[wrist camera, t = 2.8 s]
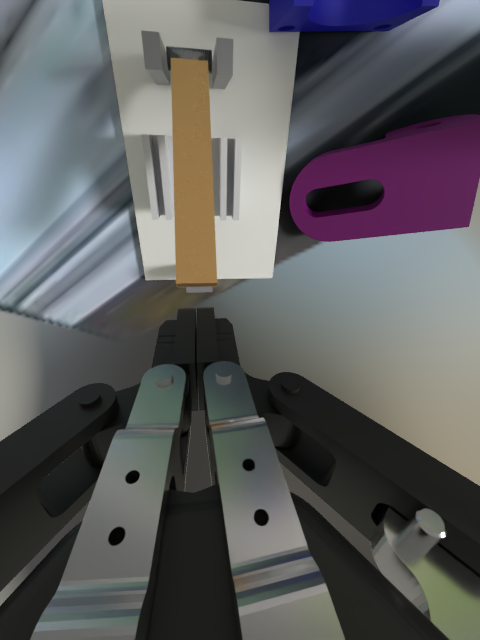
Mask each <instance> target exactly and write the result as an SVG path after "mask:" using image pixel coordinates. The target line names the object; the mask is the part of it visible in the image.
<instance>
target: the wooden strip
mask: <svg viewBox="0 0 480 640" xmlns="http://www.w3.org/2000/svg"><path fill="white" fill-rule="evenodd" d="M166 55H167V66H168V71H171V90H172V132H173V174H174V217H175V259H176V285H177V287H209V286H217V264H216V240H215V217H214V193H213V169H212V145H211V121H210V97H209V74H212V50H207V49H196V48H184V47H173V46H166Z"/></svg>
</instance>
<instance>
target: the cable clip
mask: <svg viewBox="0 0 480 640" xmlns="http://www.w3.org/2000/svg"><path fill="white" fill-rule="evenodd" d="M439 1H440V0H269V32H327V31H389V30H391V29H393V28H395V27H397V26H399V25H401V24H403V23H405V22H407V21H409V20H411V19H413V18H415V17H417V16H420V15H422V14H424V13H426V12H428V11H430V10H432V9H434V8H436V7H438V5H439Z"/></svg>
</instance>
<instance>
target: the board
mask: <svg viewBox="0 0 480 640" xmlns="http://www.w3.org/2000/svg"><path fill="white" fill-rule="evenodd" d="M102 2H103V9H104V15H105V21H106V28H107V34H108V41H109V47H110V54H111V60H112V67H113V73H114V79H115V86H116V92H117V99H118V105H119V112H120V118H121V125H122V131H123V137H124V144H125V150H126V157H127V163H128V170H129V176H130V183H131V189H132V195H133V202H134V208H135V215H136V221H137V228H138V234H139V241H140V247H141V253H142V260H143V266H144V273H145V279H146V280H176V259H175V217H174V174H173V132H172V90H171V71H168V66H167V55H166V46H173V47H184V48H196V49H207V50H212V74H209V97H210V121H211V145H212V169H213V193H214V217H215V240H216V264H217V279H243V278H272V277H273V268H274V259H275V250H276V241H277V232H278V223H279V214H280V205H281V196H282V187H283V178H284V169H285V160H286V151H287V142H288V133H289V124H290V115H291V106H292V97H293V88H294V78H295V69H296V60H297V51H298V42H299V33H300V32H269V4H267V3H258V2H249V1H240V0H102ZM186 290H187V293H192V292H212V286H209V287H186Z"/></svg>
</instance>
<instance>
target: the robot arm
mask: <svg viewBox="0 0 480 640" xmlns="http://www.w3.org/2000/svg"><path fill="white" fill-rule="evenodd" d="M198 390H199V407H200V410H205V429H206V438H207V447H208V455H209V464H210V473H211V482H212V486H211V487H209V488H206V489H204V490H201V491H198V492H195V493H189V492H185V478H186V469H187V460H188V450H189V441H190V431H191V430H190V429H191V428H190V426H191V421H192V411H198ZM80 447H81V448H80ZM75 451H76V452H75ZM74 452H75V453H74ZM73 453H74V454H73ZM68 457H69V458H68ZM67 458H68V459H67ZM62 462H63V463H62ZM61 463H62V464H61ZM280 463H281V464H283V465H284V466H285V467H286V468H287V469H288V470H289V471H291V472H292V473H293V474H294V475H295V476H296V477H298V478H299V479H300V480H301V481H302V482H303V483H304V484H305V485H307V486H308V487H309V488H310V489H311V490H312V491H313V492H315V493H316V494H317V495H318V496H319V497H321V499H323V500H324V501H325V502H326V503H327V504H328V505H329V506H331V507H332V508H333V509H334V510H335V511H336V512H337V513H339V514H340V515H341V516H342V517H343V518H344V519H346V520H347V521H348V522H349V523H350V524H351V525H352V526H354V527H355V528H356V529H357V530H358V531H359V532H360V533H361V534H363V535H364V536H365V537H366V538H367V539H368V540H369V541H371V549H372V553H373V557H374V559H375V562H376V564H377V565H378V567H379V569H380V571H381V572H380V571H379V570H378V569H376V568H375V567H374V566H373V565H372V564H371V563H370V562H369V561H368V560H367V559H366V558H365V557H364V556H363V555H362V554H361V553H360V552H359V551H358V550H357V549H356V548H355V547H354V546H353V545H352V544H350V542H349V541H348V540H347V539H345V537H343V536H342V535H341V534H340V533H339V532H338V531H337V530H336V529H335V528H334V527H333V526H332V525H331V524H330V523H329V522H328V521H327V520H326V519H325V518H324V517H323V516H322V515H321V514H320V513H319V512H318V511H317V510H316V509H315V508H313V507H312V506H311V505H310V504H309V503H307V502H306V501H305V500H304V499H302V498H300V497H299V496H297V495H296V494H294V493H292V492H289V489H288V486H287V483H286V480H285V477H284V474H283V471H282V468H281V465H280ZM56 467H57V468H56ZM55 468H56V469H55ZM54 469H55V470H54ZM49 473H50V474H49ZM48 474H49V475H48ZM89 501H90V502H89ZM88 502H89V505H88V508H87V511H86V513H85V516H84V519H83V521H82V522H80V523H79V524H78V525H76V526H75V527H74V528H73V529H72V530H71V531H70V532H69V533H67V534H66V535H65V536H64V537H63V538H62V539H61V540H60V541H59V543H58V544H57V545H56V546H55V547H54V548H53V549H52V550H51V551H50V552H49V553H48V555H47V556H46V557H45V558H44V559H43V560H42V561H41V562H40V564H38V565H37V567H36V568H35V569H34V570H33V571H32V572H31V573H30V574H29V575H28V576H27V578H26V579H25V580H24V581H23V582H22V583H21V584H20V585H19V586H18V587H17V588H16V590H15V591H14V592H13V593H12V594H11V595H10V596H9V597H8V598H7V599H6V600H5V602H4V603H3V604H2V605H1V606H0V640H480V486H479V485H477V484H475V483H474V482H472V481H471V480H469V479H467V478H466V477H464V476H462V475H461V474H459V473H458V472H456V471H454V470H453V469H451V468H449V467H448V466H446V465H445V464H443V463H441V462H439V461H438V460H437V459H435V458H433V457H431V456H430V455H428V454H427V453H425V452H424V451H422V450H420V449H419V448H417V447H415V446H414V445H412V444H411V443H409V442H407V441H406V440H404V439H403V438H401V437H399V436H397V435H396V434H395V433H393V432H391V431H390V430H388V429H386V428H385V427H383V426H382V425H380V424H378V423H377V422H375V421H373V420H372V419H370V418H369V417H367V416H365V415H364V414H362V413H361V412H359V411H357V410H356V409H354V408H352V407H351V406H349V405H348V404H346V403H344V402H343V401H341V400H339V399H338V398H336V397H334V396H333V395H331V394H329V393H328V392H326V391H325V390H323V389H322V388H320V387H318V386H317V385H315V384H314V383H312V382H310V381H309V380H307V379H306V378H304V377H302V376H300V375H298V374H295V373H290V372H282V373H279V374H276V375H275V376H273V377H272V378H271V380H270V381H267V380H261V379H257V378H253V377H251V376H249V375H248V374H246V373H245V372H244V370H243V369H242V368H241V366H240V363H239V357H238V353H237V347H236V342H235V336H234V331H233V326H232V324H231V323H230V322H229V321H228V320H227V319H226V318H221V319H215V316H214V308H213V307H211V308H197V325H196V309H195V308H180V309H178V315H177V320H166V321H165V322H164V323H163V324H162V325H161V327H160V328H159V333H158V338H157V344H156V348H155V353H154V358H153V363H152V368H151V369H150V370H149V371H147V372H146V374H145V375H144V376H143V378H142V381H141V383H139V384H137V385H135V386H133V387H130V388H127V389H123V390H120V391H117V392H115V390H114V389H113V387H111V386H110V385H108V384H104V383H95V384H90V385H87V386H84V387H81V388H79V389H78V390H76V391H75V392H73V393H72V394H70V395H69V396H67V397H66V398H64V399H63V400H61V401H60V402H58V403H57V404H55V405H54V406H52V407H51V408H49V409H48V410H46V411H45V412H43V413H42V414H40V415H39V416H37V417H36V418H35V419H33V420H31V421H30V422H29V423H27V424H26V425H24V426H23V427H21V428H20V429H18V430H17V431H15V432H14V433H12V434H11V435H10V436H8V437H6V438H5V439H3V440H2V441H0V591H1V590H2V589H3V588H4V587H5V586H6V585H7V584H8V583H9V582H10V581H11V580H12V579H13V578H14V577H15V576H16V575H17V574H18V573H19V572H20V571H21V570H22V569H23V568H24V567H25V566H26V565H27V564H28V563H29V562H30V561H31V560H32V559H33V558H34V557H35V556H36V554H38V553H39V552H40V550H42V549H43V548H44V547H45V546H46V545H47V544H48V543H49V542H50V540H51V539H52V538H53V537H54V536H55V535H56V534H57V533H58V532H59V531H60V530H61V529H62V528H63V527H64V526H65V525H66V524H67V523H68V522H69V521H70V520H71V519H72V518H73V517H74V516H75V515H76V514H77V513H78V512H79V511H80V510H81V509H82V508H83V507H84V506H85V505H86V504H87V503H88Z"/></svg>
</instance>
